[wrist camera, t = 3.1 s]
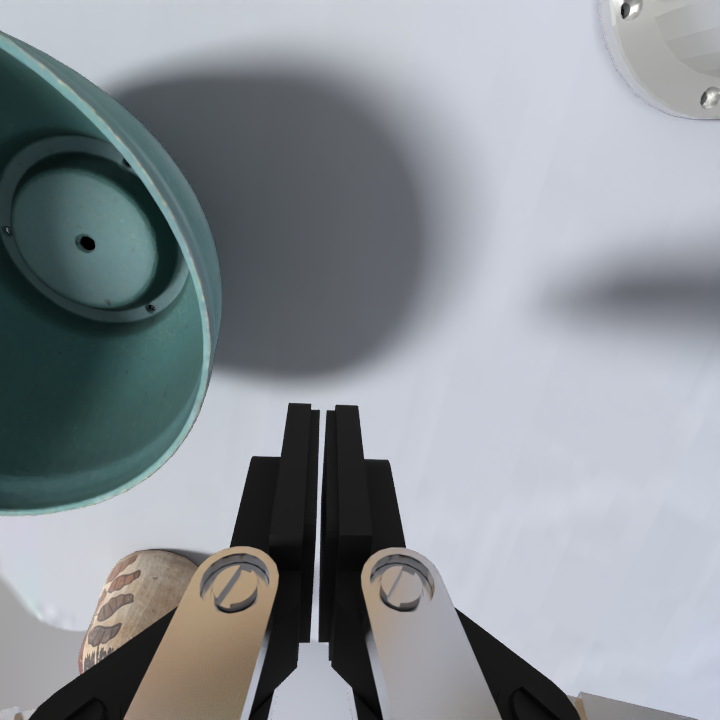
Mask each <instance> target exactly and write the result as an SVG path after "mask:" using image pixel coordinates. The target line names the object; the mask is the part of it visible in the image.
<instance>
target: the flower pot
mask: <svg viewBox="0 0 720 720" xmlns="http://www.w3.org/2000/svg"><path fill="white" fill-rule="evenodd" d="M126 161H127V162H128V163H129V165H130V166H131V167H130V166H128V165H127V163H126ZM7 227H10V228H11V231H12V234H9V233H8V232H7V231H6V228H7ZM83 236H87V237H90V238H92V239H93V240H94V242H95V249H94V250H86V249H85V248H84V247H83V246H82V245H81V243H80V240H81V238H82V237H83ZM150 304H151V305H153V306H154V307H155V310H154V311H153V310H150V309H149V305H150ZM221 310H222V287H221V274H220V266H219V261H218V255H217V250H216V247H215V243H214V239H213V236H212V233H211V230H210V227H209V224H208V222H207V219H206V217H205V214H204V212H203V210H202V208H201V206H200V204H199V201H198V199H197V197H196V195H195V194H194V192H193V190H192V188H191V187H190V185H189V183H188V181H187V180H186V178H185V177H184V175H183V174H182V172H181V171H180V170H179V168H178V167H177V165H176V164H175V162H174V161H173V160H172V158H171V157H170V156H169V154H168V153H167V152H166V151H165V149H164V148H163V147H162V146H161V144H160V143H159V142H158V141H157V140H156V139H155V138H154V137H153V135H152V134H151V133H150V132H149V131H148V130H147V129H146V128H145V127H144V126H143V125H142V124H141V123H140V122H139V121H138V120H137V119H136V118H135V117H134V116H133V115H132V114H130V113H129V112H128V111H127V110H126V109H125V108H124V107H123V106H122V105H121V104H120V103H118V102H117V101H116V100H114V99H113V98H112V97H111V96H109V95H108V94H107V93H105V92H104V91H103V90H102V89H100V88H99V87H97V86H96V85H95V84H93V83H92V82H90V81H89V80H88V79H86V78H85V77H83V76H82V75H81V74H79V73H78V72H76V71H74V70H73V69H71V68H69V67H68V66H66V65H64V64H63V63H61V62H59V61H58V60H56V59H54V58H53V57H51V56H49V55H48V54H46V53H44V52H42V51H40V50H38V49H37V48H35V47H33V46H31V45H29V44H27V43H25V42H23V41H21V40H19V39H17V38H14V37H12V36H10V35H8V34H6V33H4V32H2V31H0V516H36V515H42V514H52V513H56V512H62V511H68V510H73V509H78V508H83V507H87V506H90V505H95V504H98V503H101V502H103V501H106V500H108V499H111V498H113V497H115V496H117V495H119V494H121V493H124V492H126V491H128V490H130V489H131V488H133V487H135V486H136V485H138V484H139V483H141V482H142V481H144V480H145V479H147V478H149V477H150V476H151V475H152V474H153V473H154V472H156V471H157V470H158V469H159V468H160V467H162V466H163V465H164V464H165V463H166V462H167V461H168V460H169V459H170V458H171V457H172V456H173V455H174V453H175V452H176V451H177V450H178V448H179V447H180V446H181V444H182V443H183V441H184V440H185V439H186V437H187V436H188V434H189V432H190V430H191V429H192V427H193V425H194V423H195V421H196V419H197V417H198V415H199V413H200V410H201V407H202V404H203V402H204V398H205V396H206V393H207V389H208V386H209V383H210V379H211V373H212V367H213V361H214V354H215V349H216V345H217V340H218V335H219V330H220V321H221Z"/></svg>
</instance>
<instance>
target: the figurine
mask: <svg viewBox="0 0 720 720" xmlns="http://www.w3.org/2000/svg"><path fill="white" fill-rule="evenodd" d="M197 569H198V567H197V566H196V565H195V564H194V563H193V562H192V561H190V560H189V559H187V558H186V557H183V556H181V555H178V554H175V553H172V552H167V551H162V550H143V551H136V552H134V553H132V554H130V555H128V556H126V557H125V558H123V559H121V560H120V561H119V562H118V563H117V564H116V565H115V566H114V568H113V569H112V571H111V572H110V574H109V576H108V577H107V580H106V582H105V584H104V586H103V589H102V592H101V595H100V598H99V602H98V605H97V608H96V610H95V613H94V615H93V618H92V620H91V623H90V625H89V628H88V631H87V633H86V635H85V638H84V640H83V643H82V645H81V649H80V652H79V660H78V663H79V672H80V675H81V674H82V673H84V672H85V671H87V670H88V669H90V668H91V667H92V666H94V665H95V664H97V663H98V662H99V661H101V660H102V659H104V658H105V657H107V656H108V655H109V654H111V653H112V652H114V651H115V650H116V649H118V648H119V647H121V646H122V645H123V644H125V643H126V642H128V641H129V640H131V639H132V638H133V637H135V636H136V635H138V634H139V633H140V632H142V631H143V630H145V629H146V628H148V627H149V626H150V625H152V624H153V623H155V622H156V621H157V620H159V619H160V618H162V617H163V616H164V615H166V614H167V613H169V612H170V611H172V610H173V609H174V608H176V607H177V606H179V604H180V602H181V600H182V597H183V595H184V593H185V591H186V589H187V587H188V585H189V583H190V581H191V579H192V577H193V575H194V574H195V572H196V571H197Z"/></svg>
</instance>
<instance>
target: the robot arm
mask: <svg viewBox="0 0 720 720" xmlns="http://www.w3.org/2000/svg"><path fill="white" fill-rule="evenodd" d="M621 6H622V7H623V9H624V15H623V17H622V15H621ZM599 15H600V20H601V25H602V29H603V34H604V39H605V43H606V47H607V49H608V51H609V54H610V56H611V58H612V60H613V63H614V65H615V67H616V70H617V71H618V73H619V74H620V76H621V77H622V78H623V80H624V81H625V82H626V84H627V85H628V86H629V88H630V89H631V90H632V92H634V93H635V94H636V95H637V96H639V97H640V98H641V99H642V100H644V101H645V102H646V103H647V104H648V105H650V106H651V107H654V108H656V109H658V110H660V111H663V112H665V113H667V114H669V115H672V116H678V117H684V118H690V119H720V0H599ZM319 419H320V410H311V404H302V403H289V405H288V412H287V419H286V425H285V432H284V439H283V446H282V452H281V457H262V456H253V457H252V458H251V462H250V466H249V470H248V474H247V478H246V482H245V486H244V491H243V495H242V499H241V503H240V507H239V511H238V515H237V520H236V524H235V528H234V532H233V536H232V540H231V545H230V548H227V549H223V550H221V551H219V552H217V553H215V554H213V555H211V556H210V557H209V558H208V559H207V560H205V561H204V562H203V563H202V564H201V565H200V566H199V568H198V569H197V571H196V572H195V574H194V575H193V577H192V579H191V581H190V583H189V585H188V587H187V589H186V591H185V593H184V595H183V597H182V600H181V602H180V604H179V606H177V607H176V608H174V609H173V610H172V611H170V612H169V613H167V614H166V615H164V616H163V617H162V618H160V619H159V620H157V621H156V622H155V623H153V624H152V625H150V626H149V627H148V628H146V629H145V630H143V631H142V632H140V633H139V634H138V635H136V636H135V637H133V638H132V639H131V640H129V641H128V642H126V643H125V644H123V645H122V646H121V647H119V648H118V649H116V650H115V651H114V652H112V653H111V654H109V655H108V656H107V657H105V658H104V659H102V660H101V661H99V662H98V663H97V664H95V665H94V666H92V667H91V668H90V669H88V670H87V671H85V672H84V673H82V674H81V675H80V676H78V677H77V678H76V679H74V680H73V681H71V682H70V683H68V684H67V685H66V686H64V687H63V688H61V689H60V690H58V691H57V692H56V693H54V694H53V695H52V696H51V697H50V698H49V699H47V700H46V701H45V702H44V703H43V704H42V705H40V706H39V707H38V708H36V709H32V710H28V711H24V712H21V711H20V709H19V707H18V706H16V707H12V708H8V709H4V710H0V720H272V716H273V712H274V707H275V703H276V698H277V691H278V686H279V685H280V684H281V682H283V681H284V680H285V679H286V678H287V677H288V676H289V675H290V674H291V673H292V672H293V671H294V670H295V669H296V668H297V661H298V650H299V643H310V630H311V613H312V595H313V578H314V561H315V543H316V518H317V485H318V452H319ZM319 642H329V661H332V662H331V663H332V664H331V665H332V666H331V667H332V668H333V669H334V670H335V671H336V672H337V673H338V674H339V675H340V676H341V677H342V678H343V679H344V680H345V681H346V682H347V683H348V698H349V704H350V710H351V715H352V720H697V719H694V718H690V717H686V716H682V715H677V714H673V713H669V712H665V711H660V710H656V709H652V708H648V707H643V706H639V705H635V704H631V703H626V702H622V701H618V700H614V699H609V698H605V697H601V696H597V695H592V694H588V693H584V692H580V693H579V695H578V697H573V696H569V695H566V694H565V693H564V692H563V691H562V690H561V689H560V688H559V687H557V686H556V685H555V684H554V683H553V682H552V681H551V680H549V679H548V678H547V677H546V676H544V675H543V674H542V673H540V672H539V671H538V670H536V669H535V668H534V667H532V666H531V665H530V664H528V663H527V662H526V661H525V660H523V659H522V658H521V657H519V656H518V655H517V654H515V653H514V652H513V651H511V650H510V649H509V648H507V647H506V646H505V645H504V644H502V643H501V642H500V641H498V640H497V639H496V638H494V637H493V636H492V635H490V634H489V633H488V632H486V631H485V630H484V629H483V628H481V627H480V626H479V625H477V624H476V623H475V622H473V621H472V620H471V619H469V618H468V617H467V616H465V615H464V614H463V613H462V612H460V611H459V610H458V609H456V608H455V607H454V605H453V603H452V601H451V598H450V596H449V594H448V591H447V589H446V587H445V584H444V582H443V580H442V577H441V575H440V574H439V572H438V570H437V569H436V567H435V565H434V564H432V563H431V562H430V561H429V560H428V559H427V558H426V557H425V556H423V555H421V554H419V553H418V552H416V551H413V550H410V549H406V545H405V540H404V534H403V529H402V524H401V519H400V514H399V508H398V503H397V498H396V493H395V487H394V482H393V477H392V472H391V467H390V463H389V461H388V460H375V459H364V454H363V445H362V436H361V427H360V419H359V410H358V406H355V405H336V406H335V411H332V410H327V414H326V430H325V446H324V463H323V479H322V495H321V533H320V586H319Z"/></svg>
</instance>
